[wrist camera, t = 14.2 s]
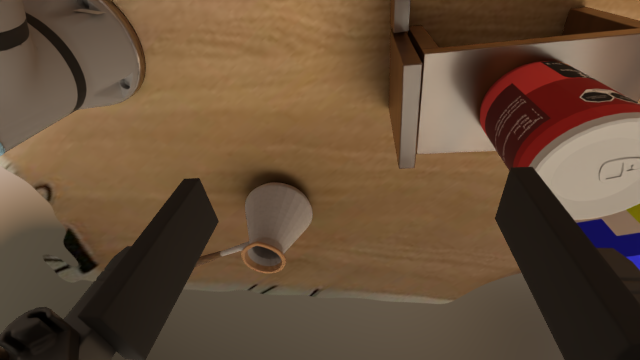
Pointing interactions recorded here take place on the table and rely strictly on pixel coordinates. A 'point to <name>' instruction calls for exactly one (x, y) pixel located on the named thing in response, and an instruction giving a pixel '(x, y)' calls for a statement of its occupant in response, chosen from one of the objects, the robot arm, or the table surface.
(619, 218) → the puzzle toy
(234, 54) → the table surface
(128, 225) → the table surface
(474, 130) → the step shelf
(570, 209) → the canned food
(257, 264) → the coffee pot
